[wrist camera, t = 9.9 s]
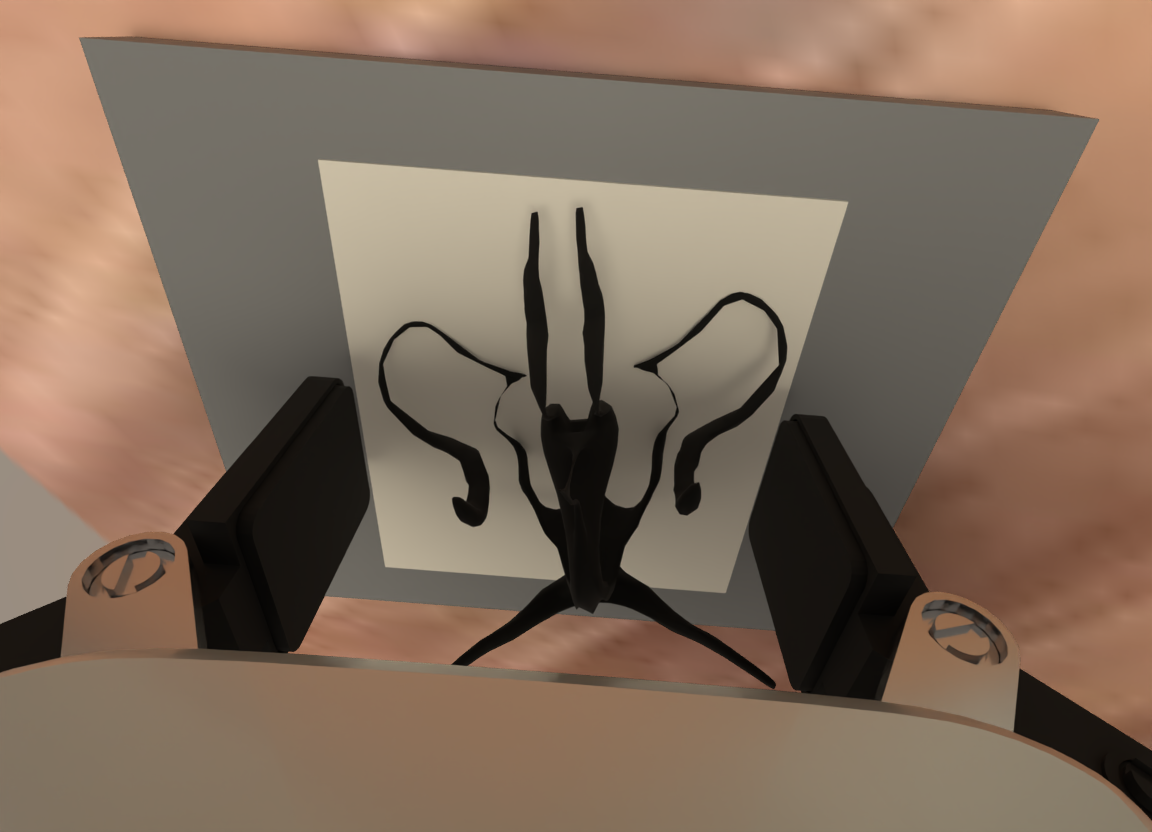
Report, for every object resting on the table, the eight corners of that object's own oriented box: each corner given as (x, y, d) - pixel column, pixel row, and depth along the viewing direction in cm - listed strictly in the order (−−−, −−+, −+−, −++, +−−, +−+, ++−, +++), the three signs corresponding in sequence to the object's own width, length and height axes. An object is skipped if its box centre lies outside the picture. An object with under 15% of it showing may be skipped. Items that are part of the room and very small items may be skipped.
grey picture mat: (1050, 110, 10) (1104, 119, 9) (825, 600, 17) (839, 638, 16) (130, 36, 10) (74, 37, 9) (286, 559, 17) (265, 594, 16)
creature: (367, 228, 12) (440, 567, 14) (177, 254, 7) (346, 767, 9) (774, 184, 11) (768, 550, 14) (909, 179, 6) (857, 760, 9)
